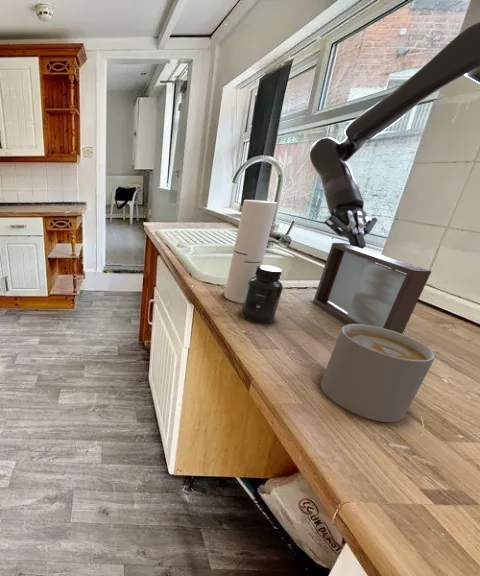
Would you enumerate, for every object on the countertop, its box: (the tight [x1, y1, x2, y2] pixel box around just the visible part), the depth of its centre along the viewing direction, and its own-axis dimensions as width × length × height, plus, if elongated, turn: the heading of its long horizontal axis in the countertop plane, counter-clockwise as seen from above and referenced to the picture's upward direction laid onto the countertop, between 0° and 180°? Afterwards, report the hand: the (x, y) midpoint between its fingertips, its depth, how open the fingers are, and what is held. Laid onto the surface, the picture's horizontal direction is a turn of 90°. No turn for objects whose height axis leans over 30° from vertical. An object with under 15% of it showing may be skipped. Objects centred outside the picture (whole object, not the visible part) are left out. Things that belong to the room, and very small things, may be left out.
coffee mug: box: [320, 324, 436, 423], centre depth 46 cm, size 13×10×10 cm
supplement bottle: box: [241, 264, 284, 325], centre depth 69 cm, size 7×7×12 cm
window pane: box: [326, 251, 395, 312], centre depth 73 cm, size 10×9×13 cm
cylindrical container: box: [223, 199, 278, 304], centre depth 77 cm, size 7×7×25 cm
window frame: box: [313, 242, 432, 335], centre depth 68 cm, size 22×3×16 cm, turn 177°
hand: (359, 248), depth 80 cm, fingers closed
